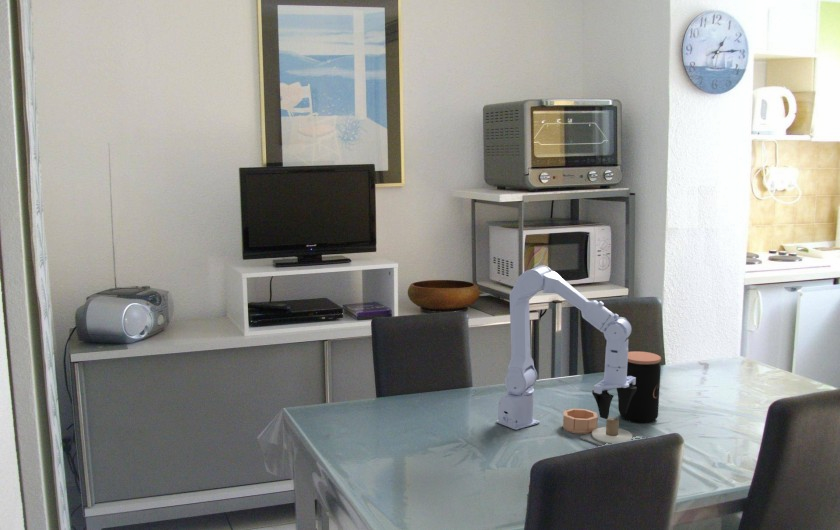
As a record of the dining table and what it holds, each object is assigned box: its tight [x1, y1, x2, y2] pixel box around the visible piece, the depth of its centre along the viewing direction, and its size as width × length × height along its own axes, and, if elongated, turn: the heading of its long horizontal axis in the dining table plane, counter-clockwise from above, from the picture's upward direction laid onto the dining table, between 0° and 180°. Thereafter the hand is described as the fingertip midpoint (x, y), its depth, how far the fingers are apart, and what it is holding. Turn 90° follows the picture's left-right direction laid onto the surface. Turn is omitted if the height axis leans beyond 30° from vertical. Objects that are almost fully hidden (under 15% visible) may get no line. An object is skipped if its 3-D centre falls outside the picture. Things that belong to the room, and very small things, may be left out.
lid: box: [592, 416, 632, 444], centre depth 224 cm, size 10×10×5 cm
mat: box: [578, 427, 645, 447], centre depth 224 cm, size 14×11×1 cm
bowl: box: [562, 408, 599, 435], centre depth 231 cm, size 9×9×4 cm
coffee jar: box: [618, 350, 662, 424], centre depth 239 cm, size 11×11×18 cm
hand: (613, 415), depth 223 cm, fingers open, 7 cm apart
